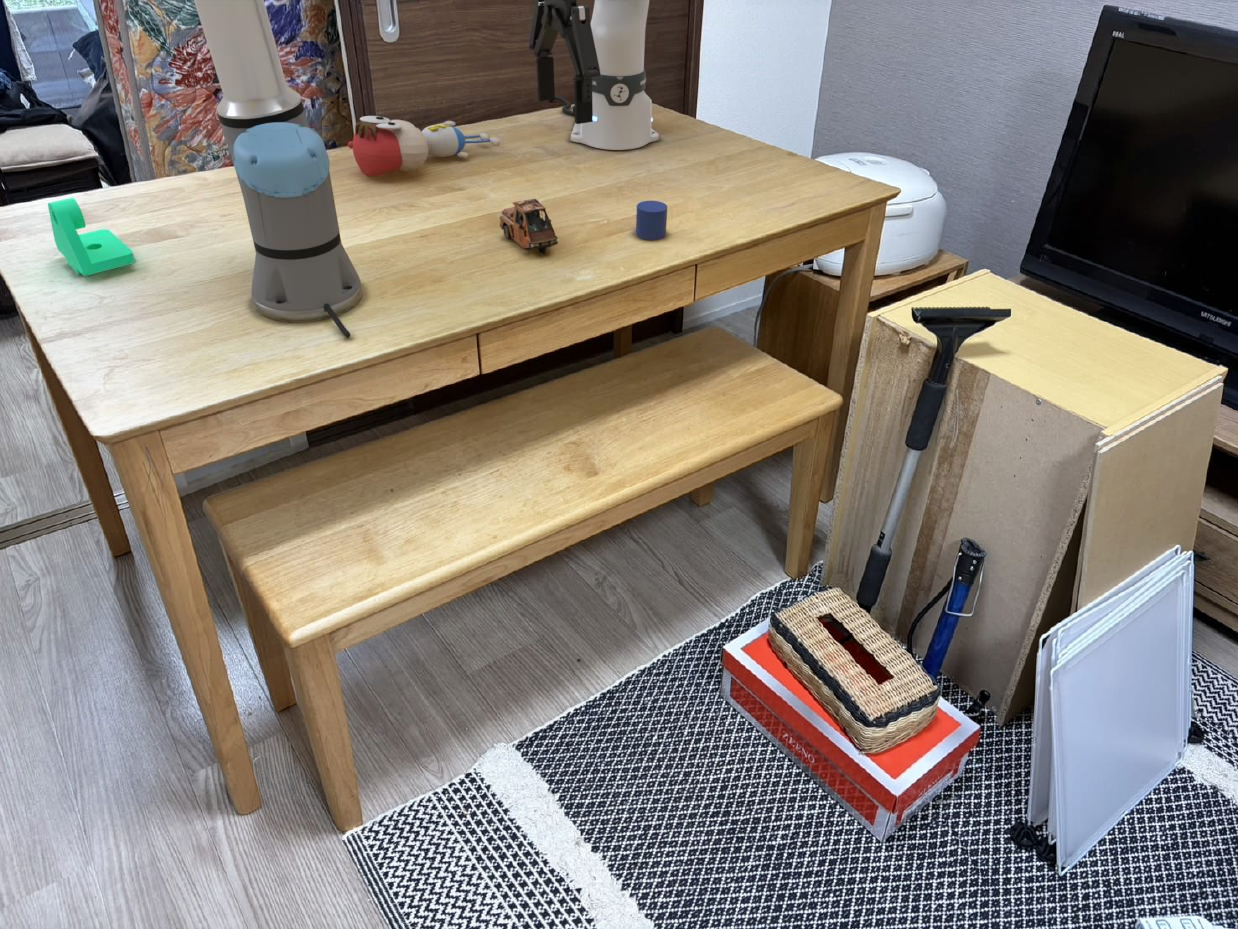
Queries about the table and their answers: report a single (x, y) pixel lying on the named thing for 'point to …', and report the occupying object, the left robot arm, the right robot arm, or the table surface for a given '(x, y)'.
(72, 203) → the camera mount
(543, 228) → the toy car
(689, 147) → the table surface
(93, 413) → the table surface
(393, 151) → the toy
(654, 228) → the canister
